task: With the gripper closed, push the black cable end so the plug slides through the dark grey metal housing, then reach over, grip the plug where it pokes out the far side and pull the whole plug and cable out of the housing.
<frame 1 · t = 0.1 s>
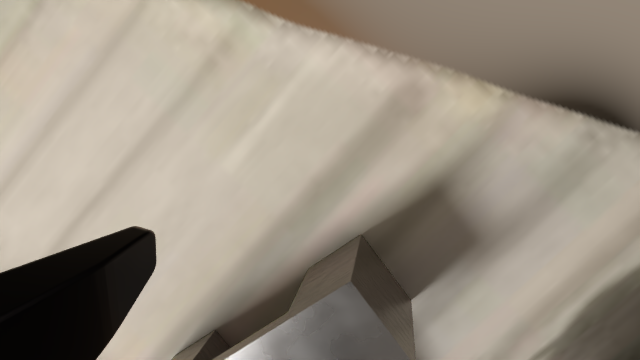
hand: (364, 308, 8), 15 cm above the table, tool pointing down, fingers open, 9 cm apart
housing: (283, 330, 26), on the table
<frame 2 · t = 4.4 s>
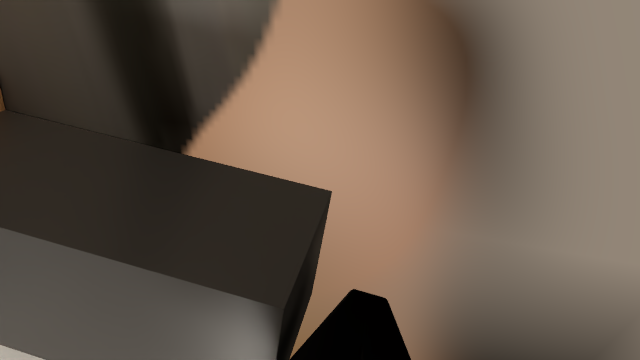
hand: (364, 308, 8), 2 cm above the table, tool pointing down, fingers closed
plug: (88, 184, 10), on the table, touching gripper
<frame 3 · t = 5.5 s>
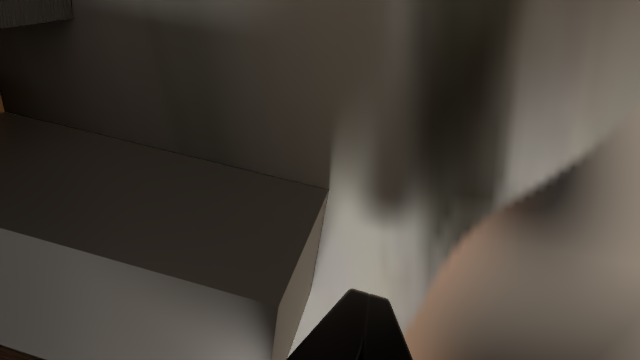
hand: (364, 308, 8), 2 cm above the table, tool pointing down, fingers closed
plug: (87, 185, 10), on the table, touching gripper
housing: (7, 163, 11), on the table
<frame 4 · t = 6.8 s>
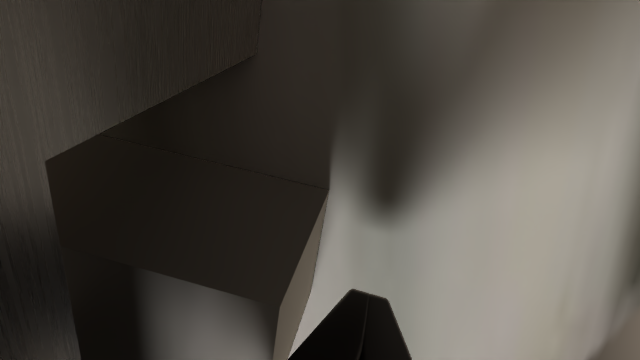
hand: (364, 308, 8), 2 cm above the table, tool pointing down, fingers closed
plug: (87, 185, 10), on the table, touching gripper
housing: (145, 198, 10), on the table
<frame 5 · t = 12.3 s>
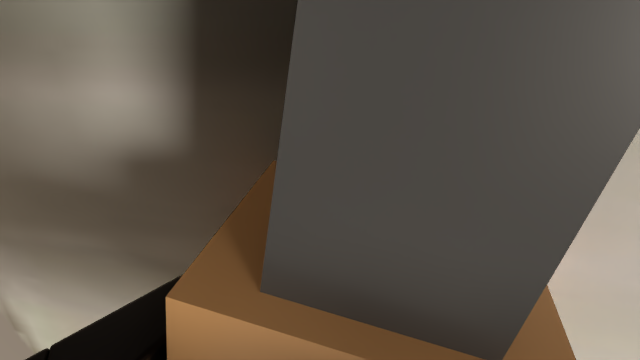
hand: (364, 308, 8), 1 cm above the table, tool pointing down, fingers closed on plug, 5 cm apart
plug: (423, 93, 7), on the table, touching gripper
when the fingers open (1 cm above the table, at t = 13.9 s): plug stays where it is, on the table.
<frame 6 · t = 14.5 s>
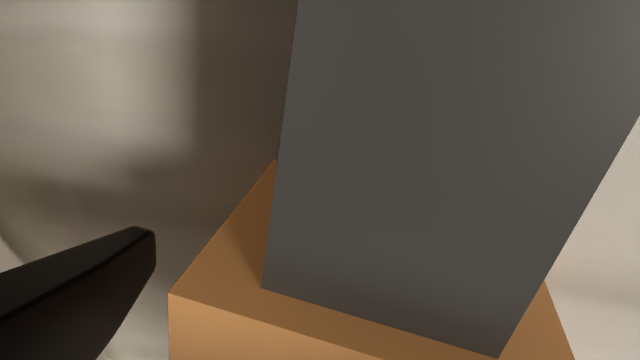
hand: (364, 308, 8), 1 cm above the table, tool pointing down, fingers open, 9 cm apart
plug: (422, 92, 7), on the table
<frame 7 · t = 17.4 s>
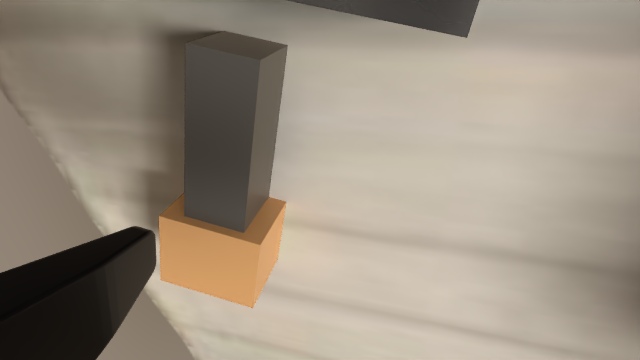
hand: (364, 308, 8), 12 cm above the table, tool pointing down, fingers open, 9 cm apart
plug: (245, 156, 21), on the table
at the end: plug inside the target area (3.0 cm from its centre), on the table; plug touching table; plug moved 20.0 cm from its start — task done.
